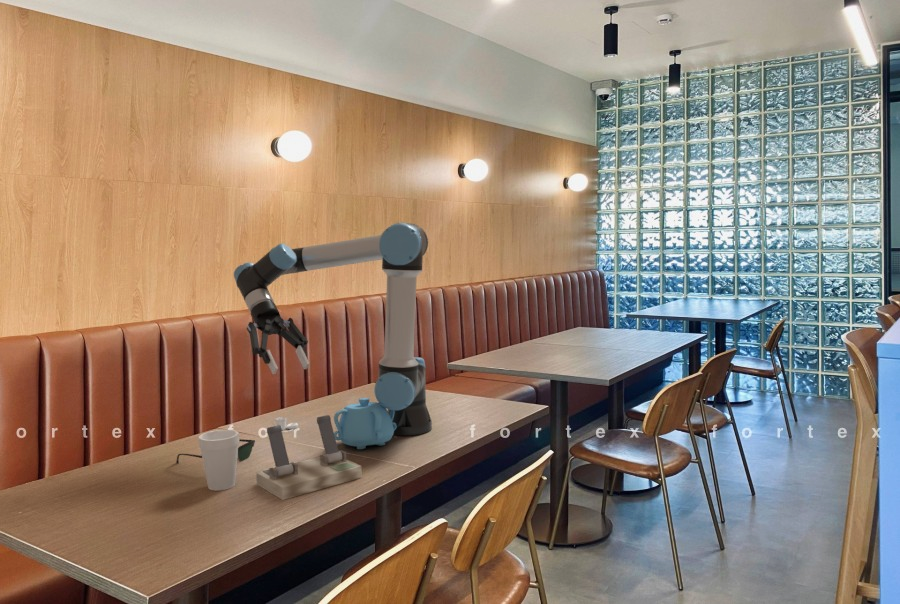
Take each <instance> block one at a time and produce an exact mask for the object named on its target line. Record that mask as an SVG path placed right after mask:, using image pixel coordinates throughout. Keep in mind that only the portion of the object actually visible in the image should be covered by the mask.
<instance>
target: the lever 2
mask: <svg viewBox="0 0 900 604" xmlns="http://www.w3.org/2000/svg"><path fill="white" fill-rule="evenodd" d="M331 420H332V419H331V415H330V414H327V415H322V416H318V417H317V418H316V424H317V425H318V429H319V432H320V436H321V442H322V444H323V449H324V452H325V454H324V456H326V457H327V458H328V463H332V462H336V461H340V460H342V453H341V452H340V450H339V448H338V444H337V440H335V436H334V433H335V431H334V428H333V424H332V421H331Z"/></svg>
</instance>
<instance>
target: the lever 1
mask: <svg viewBox="0 0 900 604" xmlns="http://www.w3.org/2000/svg"><path fill="white" fill-rule="evenodd" d="M282 432H283V430H282V428H281V426H280V425H278V426H277V425H273V426H270V427H267V428H266V433H267V436H268V440H269V443H270V444H269V445H270V449H271V452H272V457H273V461H274V467H273V468H274V469H276V470H277V477H278V476H282V475H286V474H290V473H293V465H292V464H291V463H292V462H290V460H289V456H288V452H287V448H286V444H285V440H284V437H283V433H282Z"/></svg>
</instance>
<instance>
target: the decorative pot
mask: <svg viewBox="0 0 900 604" xmlns="http://www.w3.org/2000/svg"><path fill="white" fill-rule="evenodd" d="M370 400H371V399H370V398H369V397H362V398H359V399H358V403H352V404H348V405H345V406H344V409H340V410H338V411H336V412H335V413H334V416H333V422H334V424H335V427H336V431H334V436H335V440H336V441H340V442H341V443H342V444H343V445H346V446H348V447H349V446H351V447H356V449H357V450H363V449H366V446H374V445H376V446H385V445H386V443H387V442H390V440H391V439H392V437H393V435H394V430H396V428H397V425H396V423H394V422H392V421H393V418H394V413H395V410H391V412H390V415H389V413H388V409H387V408H385V407H383V406H382V405H381V404H380V403H379V402H378V401H377V402H374V401H371V402H370ZM340 415H341V416H340ZM339 417H340V418H339ZM393 425H394V426H393Z"/></svg>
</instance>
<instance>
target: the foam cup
mask: <svg viewBox="0 0 900 604" xmlns="http://www.w3.org/2000/svg"><path fill="white" fill-rule="evenodd" d="M239 439H240V432H239V431H237V430H236V429H235V430H234V429H217V430H212V431H210V430H209V431H207V432H204V433H201V434H200V435H199V436H198V447H199V449H200V454H201V456H202V458H201V459H202V464H203V468H204V469H203V470H204V473H205V479H206V483H207V487H208V490H211V491H217V492H218V491H225V490H226V491H227V490H228V489H231V488H233V487H235V485H236V478H237V477H236V476H237V475H236V474H237V466H238V447H239V443H240V441H239Z"/></svg>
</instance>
